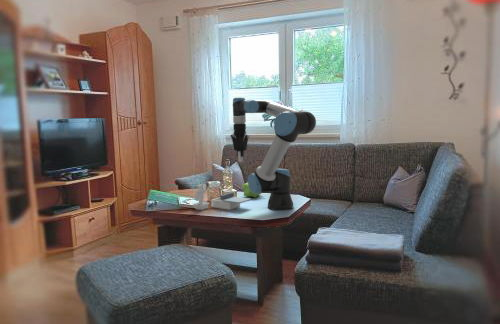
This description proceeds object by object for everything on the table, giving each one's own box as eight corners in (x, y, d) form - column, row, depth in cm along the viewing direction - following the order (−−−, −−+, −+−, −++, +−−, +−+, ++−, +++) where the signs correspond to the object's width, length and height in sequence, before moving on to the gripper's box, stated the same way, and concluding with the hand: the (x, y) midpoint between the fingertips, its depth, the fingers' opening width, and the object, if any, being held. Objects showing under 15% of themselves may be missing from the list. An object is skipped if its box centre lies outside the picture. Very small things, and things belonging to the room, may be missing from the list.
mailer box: (240, 207, 219) (239, 198, 219) (229, 210, 211) (229, 202, 211) (222, 204, 227) (221, 196, 227) (211, 207, 219) (211, 199, 219)
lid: (251, 199, 215) (251, 194, 214) (240, 203, 206) (240, 198, 205) (231, 197, 223) (231, 192, 222) (220, 200, 214) (220, 195, 214)
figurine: (191, 210, 213) (190, 185, 211) (201, 207, 221) (200, 182, 219) (201, 212, 210) (200, 186, 208) (211, 208, 218) (210, 183, 216)
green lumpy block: (257, 193, 259) (256, 178, 257) (267, 196, 247) (266, 181, 246) (238, 196, 251) (237, 180, 250) (247, 199, 240) (247, 183, 238)
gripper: (251, 123, 221) (252, 161, 224) (234, 123, 228) (235, 160, 231) (244, 123, 215) (245, 163, 217) (227, 123, 222) (228, 162, 225)
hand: (240, 161), depth 224 cm, fingers closed
